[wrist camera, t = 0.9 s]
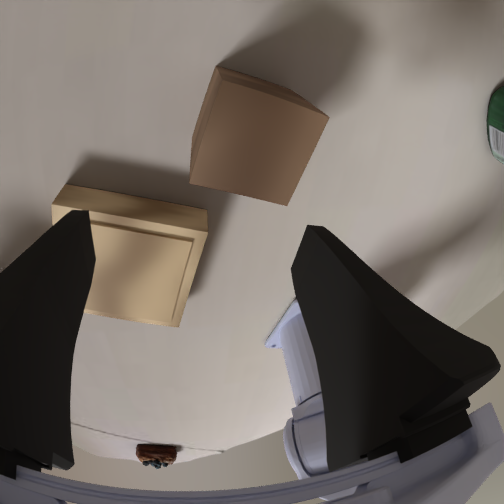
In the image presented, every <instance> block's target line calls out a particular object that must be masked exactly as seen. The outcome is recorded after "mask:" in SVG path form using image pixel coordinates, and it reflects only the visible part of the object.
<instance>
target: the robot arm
mask: <svg viewBox="0 0 504 504" xmlns="http://www.w3.org/2000/svg"><path fill="white" fill-rule="evenodd" d="M95 263H96V255H95V249H94V243H93V237H92V230H91V223H90V216H89V210H71V211H70V212H69V213H67V214H66V215H65V216H64V217H62V218H61V219H60V220H59V221H58V222H57V223H56V224H54V225H53V226H52V227H51V228H50V229H49V230H48V231H47V232H46V233H44V234H43V235H42V236H41V237H40V238H39V239H38V240H37V241H36V242H35V243H34V244H33V245H31V246H30V247H29V248H28V249H27V250H26V251H25V252H24V253H22V254H21V255H20V256H19V257H18V258H17V259H16V260H15V261H14V262H12V263H11V264H10V265H9V266H8V267H7V268H6V269H5V270H3V271H2V272H1V273H0V504H67V503H66V502H65V501H68V502H72V503H77V504H292V503H297V502H301V501H306V500H310V499H314V498H321V499H324V500H327V501H325V502H322V503H318V504H465V503H466V502H467V501H468V500H469V499H470V498H471V496H472V495H473V494H474V493H475V492H476V490H477V489H478V488H479V487H480V486H481V485H482V483H483V482H484V481H485V480H486V479H487V478H488V477H489V475H490V474H491V473H492V472H493V471H494V470H495V469H496V468H497V467H498V466H499V465H500V464H501V463H502V462H504V433H503V431H502V428H501V426H500V423H499V421H498V418H497V416H496V413H495V411H494V408H493V406H492V404H491V403H490V402H489V403H487V404H486V405H484V406H482V407H481V408H479V409H477V410H476V411H474V412H472V413H471V414H469V415H468V414H467V411H466V409H467V408H469V407H470V402H469V400H468V397H469V396H471V395H472V394H473V393H475V392H476V391H477V390H479V389H480V388H481V387H482V386H483V385H485V384H486V383H487V382H488V381H490V380H491V379H492V378H493V377H494V376H495V375H496V374H497V373H498V372H499V370H500V367H501V365H500V364H499V361H498V359H497V358H496V355H495V354H494V352H493V351H492V349H491V348H490V347H488V346H486V345H484V344H482V343H480V342H478V341H476V340H473V339H471V338H469V337H467V336H465V335H463V334H462V333H460V332H458V331H456V330H454V329H453V328H451V327H449V326H447V325H446V324H444V323H442V322H441V321H439V320H437V319H436V318H434V317H433V316H431V315H430V314H428V313H427V312H425V311H424V310H422V309H421V308H420V307H418V306H417V305H415V304H414V303H413V302H411V301H410V300H409V299H407V298H406V297H405V296H403V295H402V294H401V293H399V292H398V291H397V290H396V289H394V288H393V287H392V286H391V285H390V284H388V283H387V282H386V281H385V280H384V279H383V278H381V277H380V276H379V275H378V274H377V273H376V272H375V271H373V270H372V269H371V268H370V267H369V266H368V265H367V264H366V263H365V262H363V261H362V260H361V259H360V258H359V257H358V256H357V255H356V254H355V253H354V252H353V251H351V250H350V249H349V248H348V247H347V246H346V245H345V244H344V243H343V242H342V241H341V240H339V239H338V238H337V237H336V236H335V235H334V234H332V233H331V232H330V231H329V230H327V229H326V228H325V227H323V226H314V225H307V227H306V230H305V233H304V235H303V238H302V241H301V243H300V246H299V249H298V251H297V254H296V257H295V259H294V262H293V264H292V267H291V273H292V279H293V285H294V290H295V295H296V298H297V299H296V300H294V301H293V302H292V304H291V305H290V307H289V308H288V310H287V311H286V313H285V314H284V316H283V317H282V319H281V320H280V322H279V323H278V324H277V326H276V327H275V329H274V330H273V332H272V333H271V335H270V336H269V338H268V339H267V340H266V342H265V347H267V348H282V351H283V355H284V359H285V363H286V367H287V371H288V375H289V379H290V383H291V387H292V391H293V395H294V400H295V404H296V407H295V408H292V409H291V410H292V414H293V417H292V418H290V419H288V421H287V423H286V426H285V427H284V432H283V440H284V446H285V451H286V454H287V457H288V460H289V462H290V464H291V466H292V468H293V469H294V471H295V472H296V474H297V476H298V478H299V480H296V481H290V482H285V483H280V484H273V485H266V486H259V487H251V488H242V489H231V490H216V491H178V492H177V491H152V490H137V489H126V488H118V487H110V486H103V485H97V484H91V483H85V482H80V481H75V480H70V479H65V478H61V477H57V476H53V475H49V474H45V473H42V472H41V468H44V469H48V470H52V467H55V468H59V469H63V470H68V469H70V468H71V467H72V466H73V465H74V458H73V449H72V439H71V422H70V392H71V374H72V363H73V354H74V349H75V343H76V339H77V335H78V331H79V327H80V323H81V320H82V316H83V312H84V309H85V305H86V302H87V298H88V295H89V292H90V288H91V284H92V279H93V274H94V268H95Z"/></svg>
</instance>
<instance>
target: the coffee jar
mask: <svg viewBox="0 0 504 504" xmlns="http://www.w3.org/2000/svg"><path fill="white" fill-rule="evenodd" d="M487 135H488V141H489V145H490V148H491V151H492V154H493V156H494V157H495V158H496V159H497V160H498V161H500V162H501V163H502V164H504V86H502V87H501V88H499V89H498V90H497V91H496V92H495V93H494V94H493V95H492V97H491V100H490V105H489V109H488V116H487Z"/></svg>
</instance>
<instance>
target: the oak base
mask: <svg viewBox="0 0 504 504" xmlns="http://www.w3.org/2000/svg"><path fill="white" fill-rule="evenodd" d="M71 210H89V216H90V223H91V230H92V237H93V243H94V249H95V255H96V263H95V268H94V274H93V279H92V284H91V288H90V292H89V295H88V298H87V302H86V305H85V309H84V313H89V314H94V315H100V316H105V317H111V318H117V319H123V320H129V321H136V322H142V323H149V324H156V325H163V326H171V327H179V325H180V322H181V318H182V315H183V311H184V308H185V305H186V301H187V298H188V295H189V291H190V288H191V285H192V282H193V278H194V275H195V272H196V269H197V266H198V263H199V259H200V256H201V253H202V250H203V247H204V244H205V241H206V238H207V235H208V220H207V210H204V209H200V208H195V207H189V206H184V205H179V204H174V203H169V202H164V201H159V200H153V199H148V198H142V197H137V196H132V195H126V194H120V193H115V192H109V191H103V190H97V189H92V188H86V187H80V186H73V185H67V184H65V185H64V187H63V188H62V190H61V191H60V192H59V194H58V195H57V197H56V198H55V200H54V201H53V203H52V224H53V225H54V224H56V223H57V222H58V221H59V220H60V219H61V218H62V217H64V216H65V215H66V214H67V213H69V212H70V211H71Z"/></svg>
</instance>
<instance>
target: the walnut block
mask: <svg viewBox="0 0 504 504" xmlns="http://www.w3.org/2000/svg"><path fill="white" fill-rule="evenodd" d="M329 118H330V117H328V116H327V115H326V114H324V113H323V112H322V111H320V110H319V109H318V108H316V107H315V106H313V105H312V104H311V103H309V102H308V101H306V100H305V99H304V98H302V97H301V96H299V95H298V94H296V93H295V92H293V91H292V90H290V89H287V88H285V87H282V86H279V85H276V84H274V83H271V82H268V81H265V80H262V79H259V78H256V77H253V76H249V75H246V74H243V73H240V72H236V71H233V70H229V69H226V68H222V67H219V66H215V69H214V72H213V75H212V78H211V81H210V83H209V86H208V89H207V92H206V95H205V98H204V101H203V104H202V107H201V110H200V114H199V117H198V120H197V123H196V126H195V130H194V133H193V136H192V147H191V162H190V179H189V184H194V185H199V186H203V187H208V188H213V189H217V190H222V191H226V192H230V193H235V194H239V195H243V196H248V197H252V198H256V199H260V200H264V201H269V202H273V203H277V204H281V205H285V206H287V205H288V203H289V201H290V199H291V197H292V195H293V193H294V191H295V189H296V186H297V184H298V182H299V180H300V178H301V176H302V174H303V172H304V170H305V168H306V166H307V164H308V162H309V160H310V157H311V155H312V153H313V151H314V149H315V147H316V145H317V143H318V141H319V139H320V137H321V135H322V132H323V130H324V128H325V126H326V124H327V122H328V120H329Z"/></svg>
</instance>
